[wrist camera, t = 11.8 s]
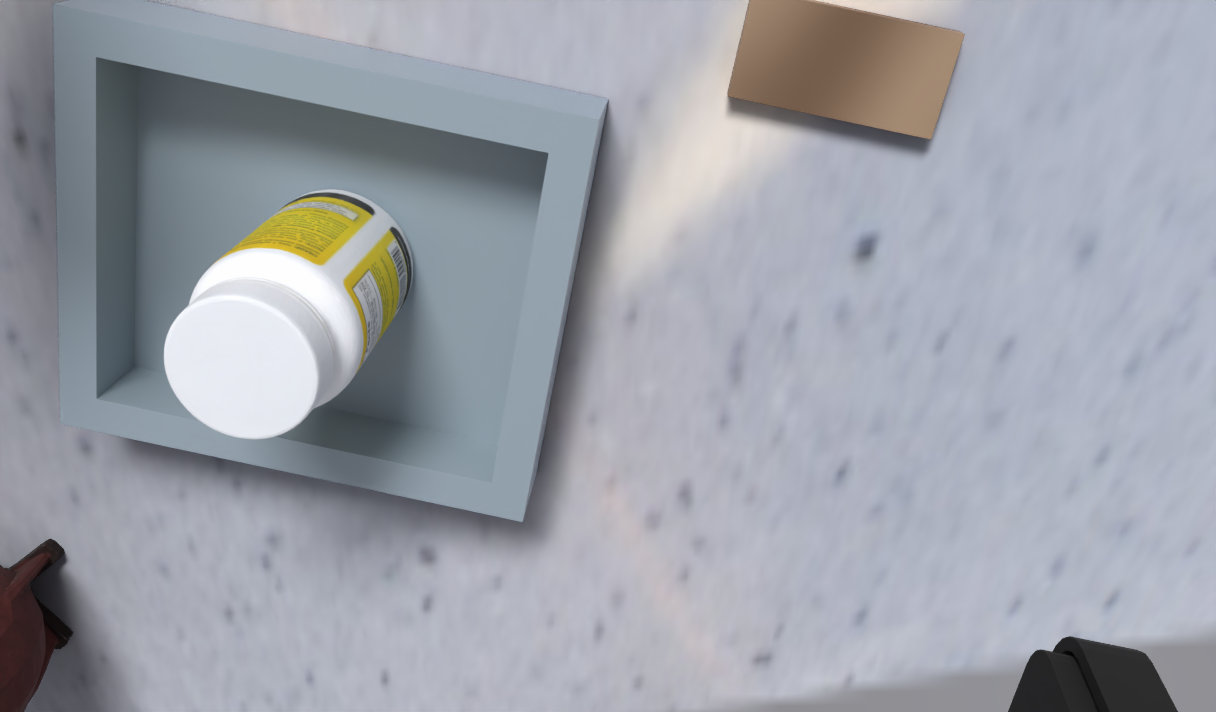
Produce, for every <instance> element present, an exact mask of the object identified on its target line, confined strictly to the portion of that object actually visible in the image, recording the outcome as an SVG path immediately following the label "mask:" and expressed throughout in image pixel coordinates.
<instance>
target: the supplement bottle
mask: <svg viewBox="0 0 1216 712" xmlns="http://www.w3.org/2000/svg"><path fill="white" fill-rule="evenodd" d="M412 279H413V259H412V254H411V250H410V246H409V244H408V241H407V239H406V237H405V235H404V233H403V231H402V230H401V228H400V227H399V225H398V224H397V223H396V222H395V220H394V219H393V218H392V217H391V216H390V215H389V214H388V213H387V212H386V211H384V210H383V209H382V208H381V207H379V206H378V205H376V204H375V203H373V202H372V201H370V200H368V199H366V198H365V197H362V196H360V195H358V194H355V193H352V192H348V191H344V190H336V189H326V190H318V191H313V192H310V193H307V194H304V195H302V196H300V197H297V198H296V199H294V200H292V201H291V202H289V203H288V204H287V205H285V206H284V207H282V208H281V209H280V210H279V211H278V212H277V213H275V214H274V215H273V216H272V217H270V218H269V219H268V220H267V221H265V222H264V223H263V224H262V225H261V226H259V227H258V228H257V229H256V230H254V231H253V232H252V233H251V234H250V235H248V236H247V237H246V238H245V239H243V240H242V241H241V242H240V243H238V244H237V245H236V246H235V247H234V248H232V249H231V250H230V251H228V252H227V253H226V254H225V255H223V256H222V257H221V258H220V259H218V260H217V261H216V262H215V263H214V264H213V265H212V266H211V267H210V268H209V269H208V270H207V271H206V272H205V273H204V274H203V276H202V277H201V278H200V280H199V281H198V283H197V285H196V287H195V288H194V291H193V293H192V295H191V298H190V301H189V305H188V306H187V307H186V308H185V309H184V310H183V311H182V312H181V313H180V314H179V315H178V316H177V318H176V319H175V321H174V322H173V324H172V325H171V327H170V329H169V332H168V334H167V337H166V341H165V346H164V366H165V371H166V375H167V378H168V381H169V383H170V386H171V388H172V390H173V392H174V393H175V395H176V396H177V398H178V399H179V401H180V402H181V403H182V404H183V406H184V407H185V408H186V409H187V410H188V411H189V412H190V413H191V414H192V415H193V416H194V417H195V418H197V419H198V420H199V421H200V422H202V423H203V424H205V425H207V426H208V427H210V428H212V429H214V430H216V431H218V432H220V433H223V434H226V435H229V436H232V437H237V438H243V439H255V440H256V439H266V438H271V437H275V436H278V435H281V434H284V433H286V432H288V431H290V430H291V429H293V428H295V427H296V426H297V425H298V424H300V423H301V422H302V421H303V420H304V419H305V418H306V417H307V416H308V415H309V413H310V412H311V411H312V410H313V409H314V408H316V407H318V406H320V405H323V404H325V403H327V402H328V401H330V400H331V399H333V398H334V397H335V396H337V395H338V394H339V393H340V392H341V391H342V390H343V389H344V388H345V387H346V386H347V385H348V384H349V383H350V382H351V380H352V379H353V377H354V376H355V374H356V373H357V372H358V370H359V369H360V367H361V366H362V364H363V363H364V361H365V360H366V358H367V357H368V356H369V354H370V353H371V351H372V350H373V348H374V347H375V345H376V344H377V342H378V341H379V339H380V338H381V336H382V335H383V334H384V332H385V331H386V329H387V328H388V326H389V325H390V323H391V322H392V320H393V319H394V317H395V316H396V314H397V313H398V311H399V310H400V309H401V307H402V305H403V304H404V302H405V300H406V298H407V296H408V294H409V291H410V288H411V284H412Z"/></svg>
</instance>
